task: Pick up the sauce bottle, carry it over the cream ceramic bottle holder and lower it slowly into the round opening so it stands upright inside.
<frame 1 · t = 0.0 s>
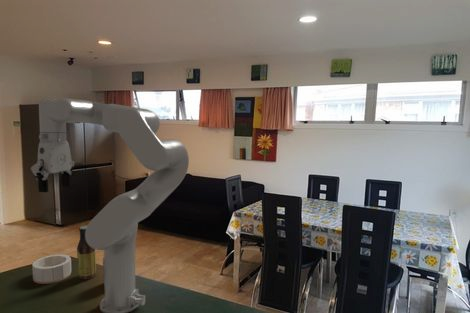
hand: (55, 189, 107), 37 cm above the table, tool pointing down, fingers open, 9 cm apart
bottle holder: (52, 275, 123), on the table
sauce bottle: (87, 277, 123), on the table
soda can: (113, 284, 118), on the table
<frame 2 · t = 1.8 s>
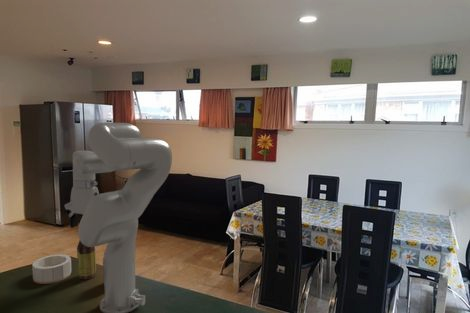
hand: (85, 228, 122), 19 cm above the table, tool pointing down, fingers open, 9 cm apart
nothing on the table moved.
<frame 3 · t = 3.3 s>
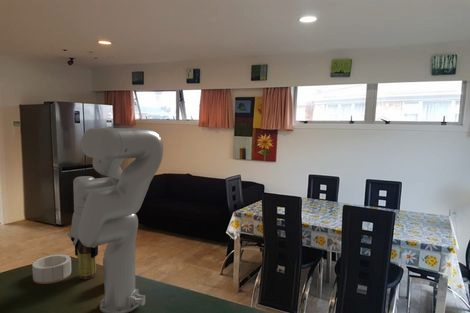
hand: (86, 255, 122), 9 cm above the table, tool pointing down, fingers closed on sauce bottle, 6 cm apart
sauce bottle: (87, 277, 123), on the table, touching gripper
everything else where it was.
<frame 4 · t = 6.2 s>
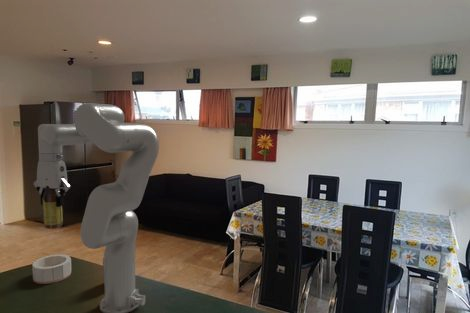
hand: (52, 204, 121), 28 cm above the table, tool pointing down, fingers closed on sauce bottle, 6 cm apart
sauce bottle: (53, 227, 122), point 19 cm above the table, touching gripper
everything else where it was.
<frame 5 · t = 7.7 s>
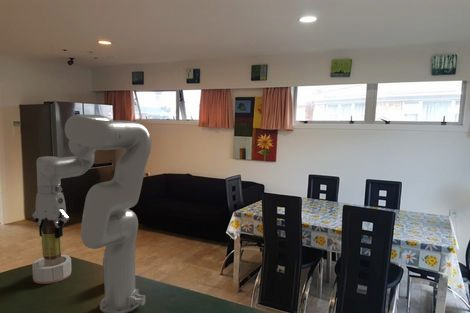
hand: (51, 235, 122), 16 cm above the table, tool pointing down, fingers closed on sauce bottle, 6 cm apart
sauce bottle: (52, 258, 123), point 7 cm above the table, touching gripper
everything else where it was.
when the fingers open (11 cm above the table, at t = 9.2 s): sauce bottle drops 1 cm, resting on bottle holder.
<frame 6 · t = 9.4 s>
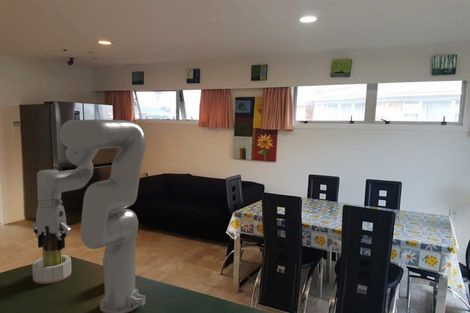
hand: (51, 247, 122), 11 cm above the table, tool pointing down, fingers open, 8 cm apart
sauce bottle: (53, 274, 123), point 1 cm above the table, touching bottle holder
everything else where it was.
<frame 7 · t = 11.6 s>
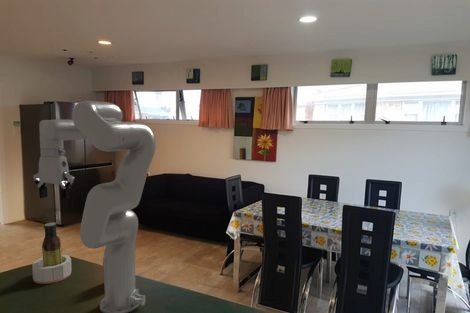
hand: (54, 198, 122), 30 cm above the table, tool pointing down, fingers open, 9 cm apart
nothing on the table moved.
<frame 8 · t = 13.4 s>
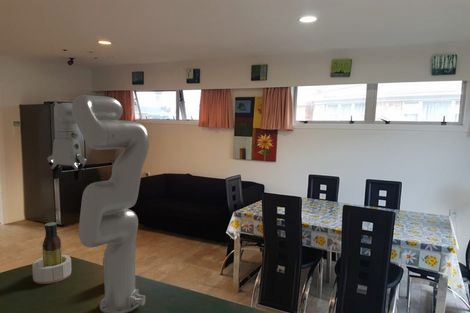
hand: (67, 179, 127), 36 cm above the table, tool pointing down, fingers open, 9 cm apart
nothing on the table moved.
at the end: sauce bottle 0.3 cm off-centre on the bottle holder, point 0.6 cm above the bottle holder's base; sauce bottle tilted 0°; the gripper is holding nothing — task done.
